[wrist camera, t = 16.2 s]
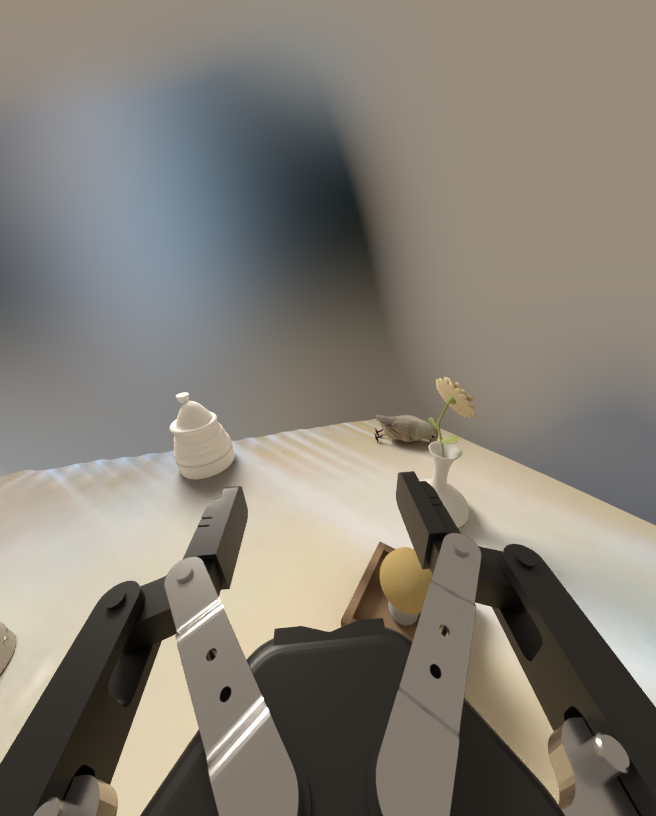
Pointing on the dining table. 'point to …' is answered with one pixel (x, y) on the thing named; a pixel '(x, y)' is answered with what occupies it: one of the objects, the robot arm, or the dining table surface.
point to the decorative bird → (406, 429)
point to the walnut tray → (375, 597)
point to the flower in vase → (450, 451)
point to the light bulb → (404, 584)
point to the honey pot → (200, 441)
